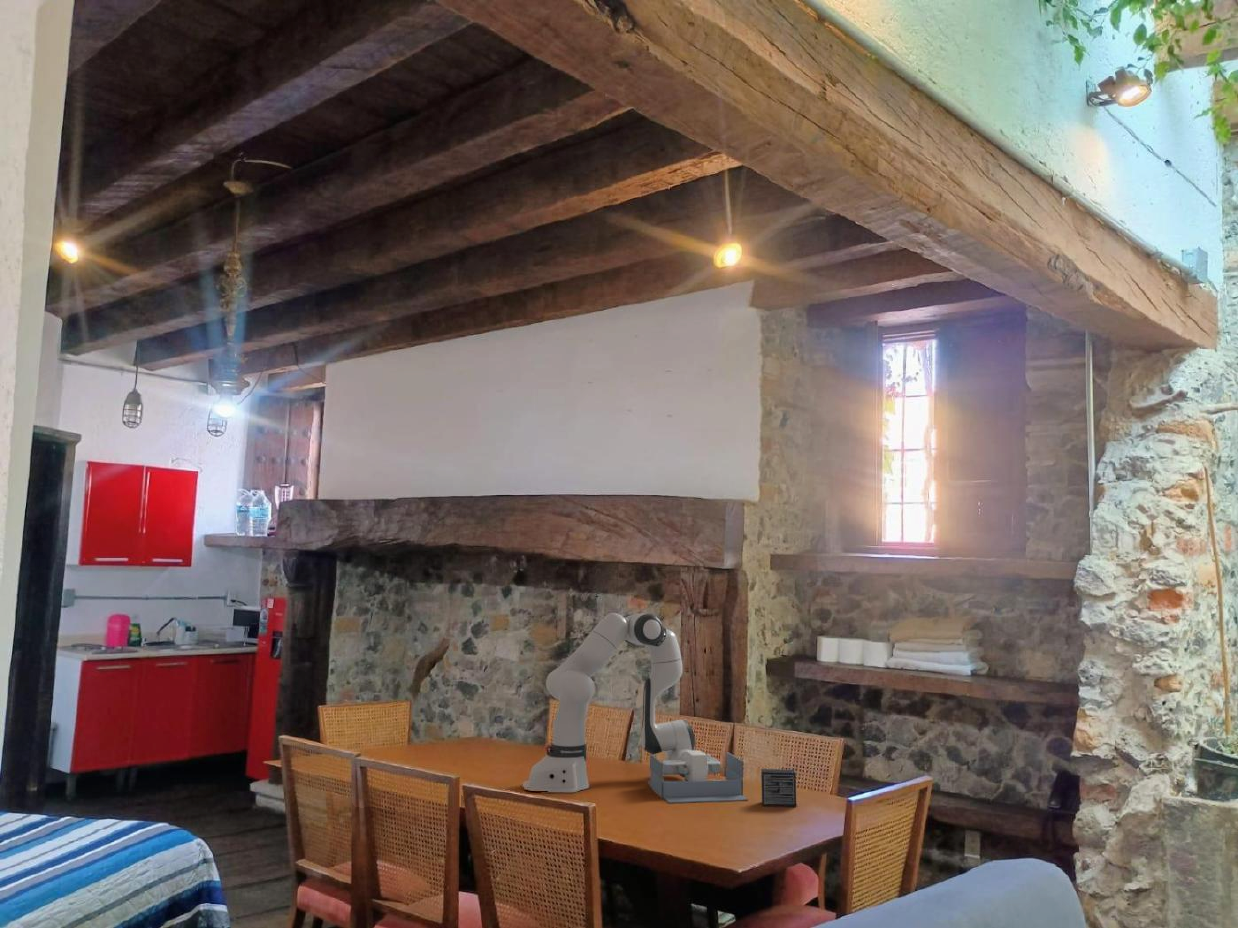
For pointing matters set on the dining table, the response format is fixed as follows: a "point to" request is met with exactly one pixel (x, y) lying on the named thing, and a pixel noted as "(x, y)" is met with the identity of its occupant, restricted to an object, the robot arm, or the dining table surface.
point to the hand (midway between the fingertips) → (696, 771)
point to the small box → (778, 787)
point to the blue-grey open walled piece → (699, 784)
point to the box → (696, 765)
